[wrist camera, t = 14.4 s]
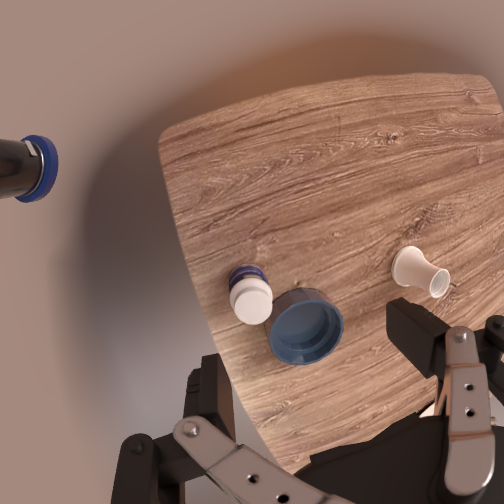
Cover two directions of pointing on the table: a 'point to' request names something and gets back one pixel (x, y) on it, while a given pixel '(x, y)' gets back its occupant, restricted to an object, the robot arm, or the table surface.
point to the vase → (419, 272)
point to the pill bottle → (250, 294)
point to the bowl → (303, 327)
